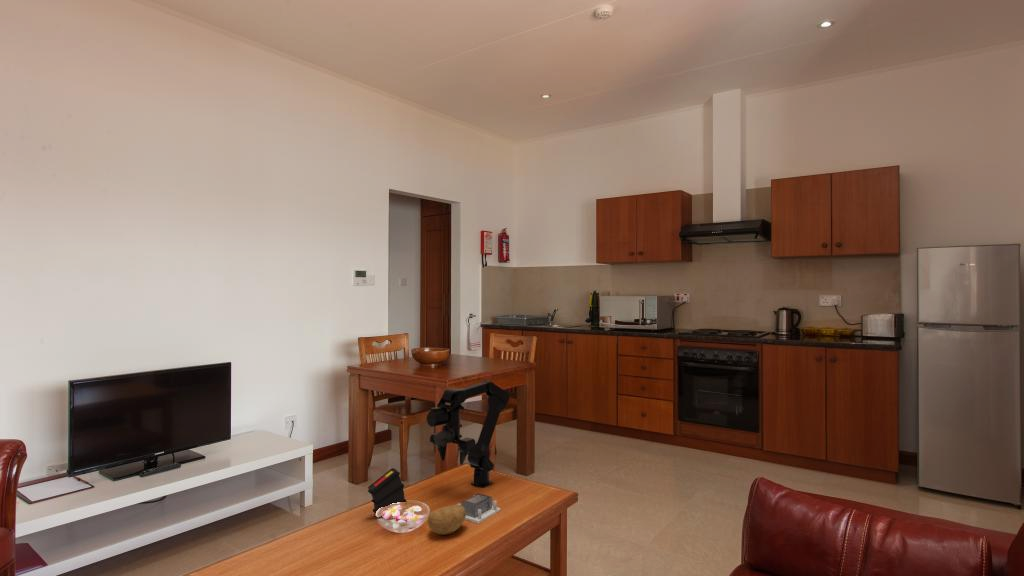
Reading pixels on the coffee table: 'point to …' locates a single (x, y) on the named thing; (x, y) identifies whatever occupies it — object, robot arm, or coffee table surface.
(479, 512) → the white mounting plate
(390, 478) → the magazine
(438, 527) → the potato
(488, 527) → the coffee table surface
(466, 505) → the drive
